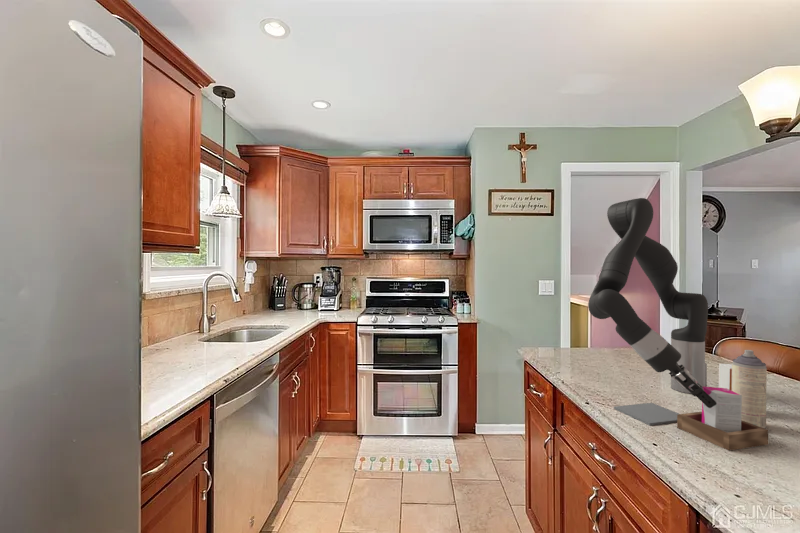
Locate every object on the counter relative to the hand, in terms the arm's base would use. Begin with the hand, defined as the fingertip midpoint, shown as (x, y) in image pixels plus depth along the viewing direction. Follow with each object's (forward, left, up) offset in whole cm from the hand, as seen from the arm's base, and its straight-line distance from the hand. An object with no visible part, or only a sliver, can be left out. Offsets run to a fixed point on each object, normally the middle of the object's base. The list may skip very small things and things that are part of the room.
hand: (708, 400), depth 95 cm
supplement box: (-2, +2, -9) cm, 9 cm away
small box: (-25, -9, -9) cm, 28 cm away
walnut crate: (-2, +2, -9) cm, 9 cm away
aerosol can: (-16, -1, -9) cm, 18 cm away
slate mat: (+3, -13, -9) cm, 16 cm away
